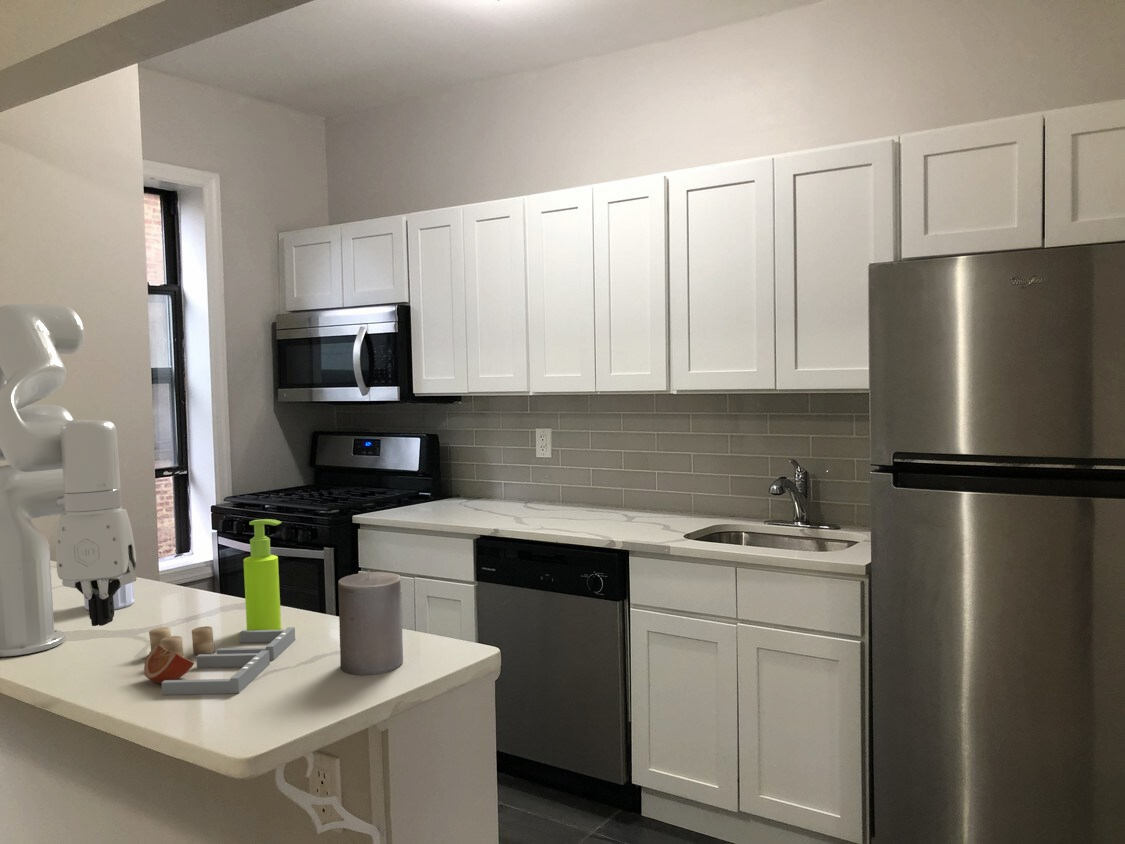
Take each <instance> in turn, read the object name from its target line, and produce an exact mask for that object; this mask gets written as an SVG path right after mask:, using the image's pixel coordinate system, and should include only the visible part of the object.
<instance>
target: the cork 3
mask: <svg viewBox="0 0 1125 844" xmlns="http://www.w3.org/2000/svg"><path fill="white" fill-rule="evenodd" d="M191 638H192V639H191V640H192V652H193V656H194V657H196V656H198V655H199V654H215V644H214V643H215V642H214V632H213V627H212V626H207V625H206V626H204V625H203V626H199V627H196V628H193V629H192V630H191Z"/></svg>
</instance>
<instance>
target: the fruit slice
mask: <svg viewBox="0 0 1125 844" xmlns="http://www.w3.org/2000/svg"><path fill="white" fill-rule="evenodd" d="M194 665H195V662H193V661H191V660H190V659H188V658H186V657H185V656H184V655H183V656H181V655H179V654H177V653H175V652H172V651H171V650H170V649H169V650H167V649H165V648H163V647H161V646H160V645H157V644H156V645H155V646H154V648H153V649H152V651H151V650H150V651H149V653H148V655H147V656H146V657H145V662H144V666H143V673H144V676H145V677H146V678H147V679H148V680H149V681H151V682H154V683H158V684H162V682H163V681H164V680H179V679H180V678H181V677H184V676H185V674H187V673H188V672H189V671H190V670H191V669H192V667H193V666H194Z"/></svg>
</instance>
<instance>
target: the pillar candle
mask: <svg viewBox="0 0 1125 844" xmlns="http://www.w3.org/2000/svg"><path fill="white" fill-rule="evenodd" d="M401 581H402V578H401V575H399V574H396V573H392V572H385V571H375V572H374V571H372V572H371V571H370V569H369V570H367V572H361V573H353V574H351V575H350V574H349V575H346V576H344V577H341V578H340V579H339V580H338V583H337V589H338V590H337V591H338V592H337V593H338V616H339V617H338V618H339V619H338V621H339V649H340V651H339V654H340V655H339V657H340V660H339V662H340V669H341V670H342V671H343V672H345V673H348V674H350V675H360V676H362V675H363V676H370V675H371V674H372V675H380V674H383V672H384V673H389V672H391V671H394V670H396V669H398V668H399V667H400V666H401V665H402V663H404V646H403V641H404V640H403V613H402V587H401V586H402V584H401V583H402V582H401ZM388 671H389V672H388Z"/></svg>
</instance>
